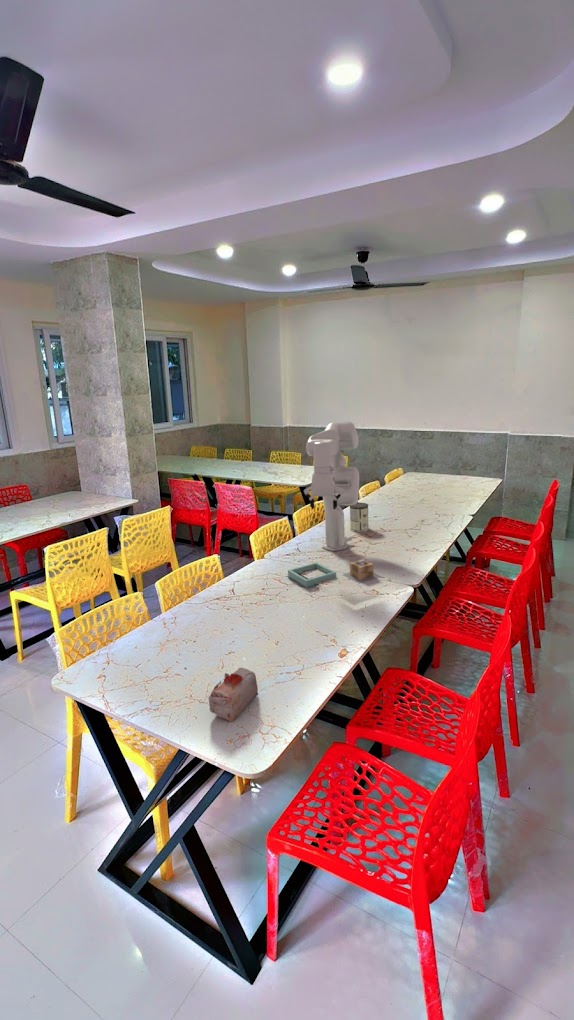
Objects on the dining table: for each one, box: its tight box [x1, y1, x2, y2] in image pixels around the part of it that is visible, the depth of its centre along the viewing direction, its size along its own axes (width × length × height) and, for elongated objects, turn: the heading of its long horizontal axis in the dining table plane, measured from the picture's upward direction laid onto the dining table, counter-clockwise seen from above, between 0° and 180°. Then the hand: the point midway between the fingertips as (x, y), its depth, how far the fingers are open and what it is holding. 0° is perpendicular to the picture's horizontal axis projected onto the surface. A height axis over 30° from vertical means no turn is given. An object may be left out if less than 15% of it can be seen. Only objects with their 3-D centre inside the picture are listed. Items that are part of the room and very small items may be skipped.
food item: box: [208, 667, 259, 723], centre depth 136 cm, size 14×8×10 cm, turn 150°
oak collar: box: [349, 558, 375, 580], centre depth 216 cm, size 7×7×6 cm
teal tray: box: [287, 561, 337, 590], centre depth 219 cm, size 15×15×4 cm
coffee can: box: [349, 502, 369, 533], centre depth 283 cm, size 10×10×14 cm
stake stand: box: [342, 559, 383, 585], centre depth 216 cm, size 12×12×8 cm
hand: (323, 508), depth 224 cm, fingers open, 9 cm apart
